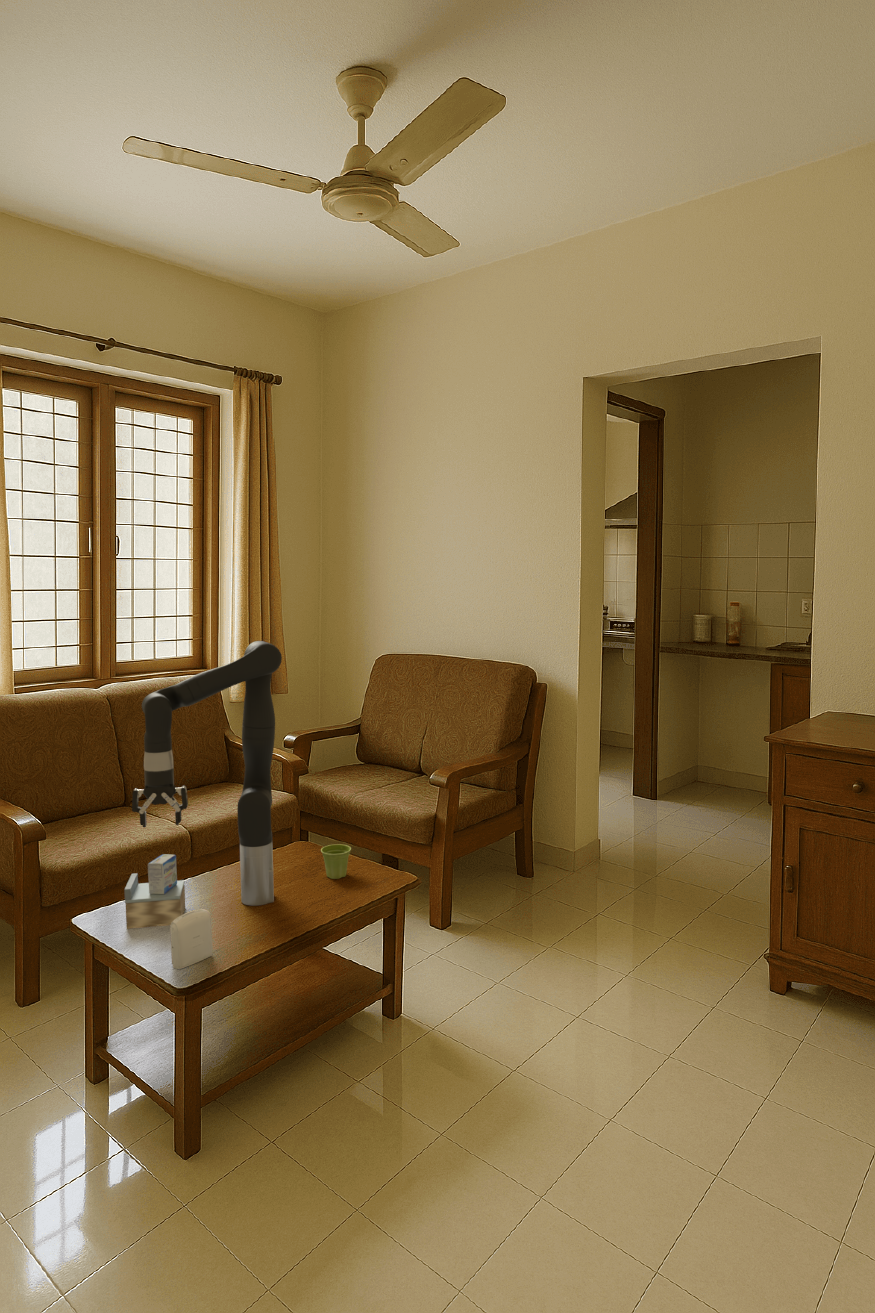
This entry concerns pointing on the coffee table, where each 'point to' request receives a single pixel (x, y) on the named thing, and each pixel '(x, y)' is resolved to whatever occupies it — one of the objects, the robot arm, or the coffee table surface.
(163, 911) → the wooden box
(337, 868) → the plant pot
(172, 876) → the medicine box
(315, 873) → the coffee table surface
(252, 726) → the robot arm
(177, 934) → the photo printer
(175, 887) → the lid
